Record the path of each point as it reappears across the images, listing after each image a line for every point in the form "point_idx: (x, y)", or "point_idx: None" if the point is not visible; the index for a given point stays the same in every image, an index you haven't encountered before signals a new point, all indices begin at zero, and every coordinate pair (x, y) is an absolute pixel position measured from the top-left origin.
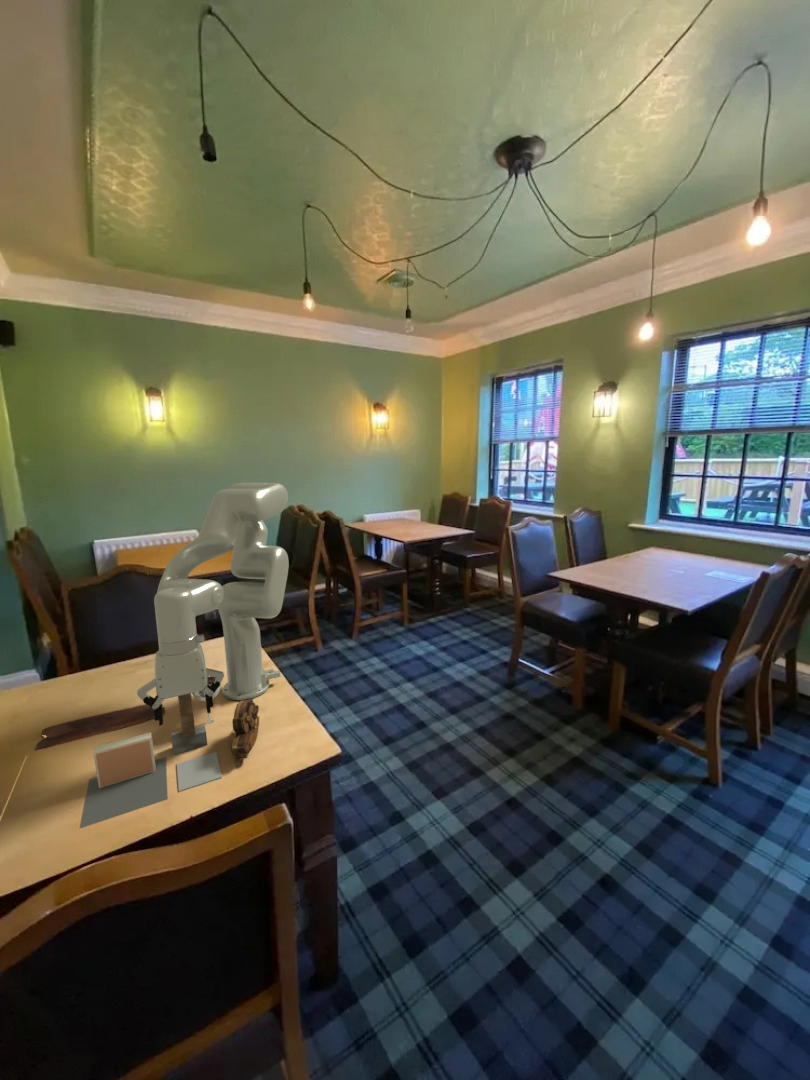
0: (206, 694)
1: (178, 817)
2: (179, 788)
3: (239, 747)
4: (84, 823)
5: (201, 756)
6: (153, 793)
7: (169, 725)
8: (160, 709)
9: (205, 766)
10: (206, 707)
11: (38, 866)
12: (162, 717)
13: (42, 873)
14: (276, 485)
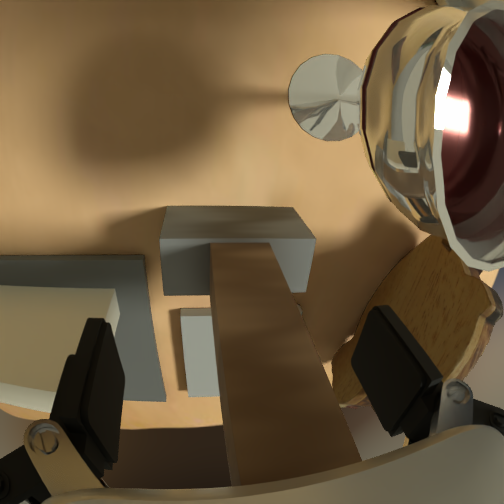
0: (407, 427)
1: (188, 424)
2: (190, 393)
3: (350, 405)
4: None
5: None
6: (132, 381)
7: (166, 7)
8: (111, 460)
9: None
10: (367, 347)
11: (12, 405)
12: (116, 382)
13: (25, 415)
14: None
